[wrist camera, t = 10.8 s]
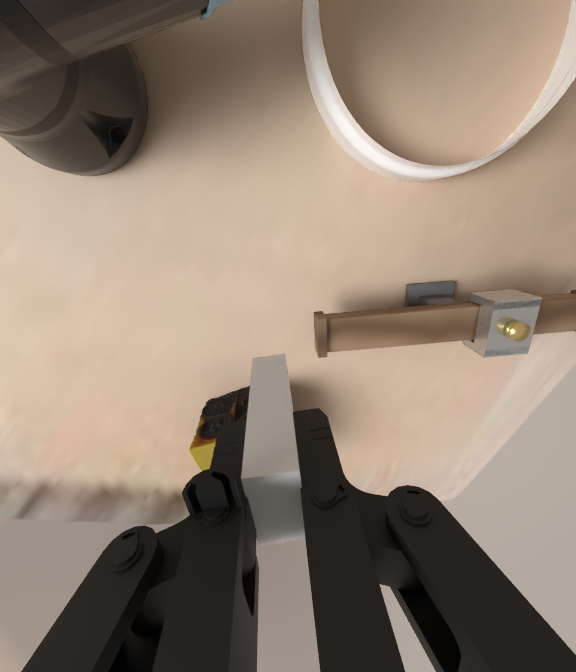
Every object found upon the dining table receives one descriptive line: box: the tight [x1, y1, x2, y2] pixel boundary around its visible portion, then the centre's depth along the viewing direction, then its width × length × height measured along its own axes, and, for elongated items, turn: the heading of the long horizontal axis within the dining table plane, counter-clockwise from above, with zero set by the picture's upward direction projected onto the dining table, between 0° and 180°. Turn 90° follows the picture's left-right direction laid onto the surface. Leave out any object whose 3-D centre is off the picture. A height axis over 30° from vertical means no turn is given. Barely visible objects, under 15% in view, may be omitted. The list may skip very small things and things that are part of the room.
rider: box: [462, 289, 542, 357], centre depth 33 cm, size 6×5×5 cm
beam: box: [314, 281, 576, 358], centre depth 36 cm, size 7×32×8 cm, turn 94°
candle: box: [189, 386, 250, 471], centre depth 40 cm, size 10×10×10 cm
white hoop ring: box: [302, 0, 576, 182], centre depth 27 cm, size 27×27×6 cm
